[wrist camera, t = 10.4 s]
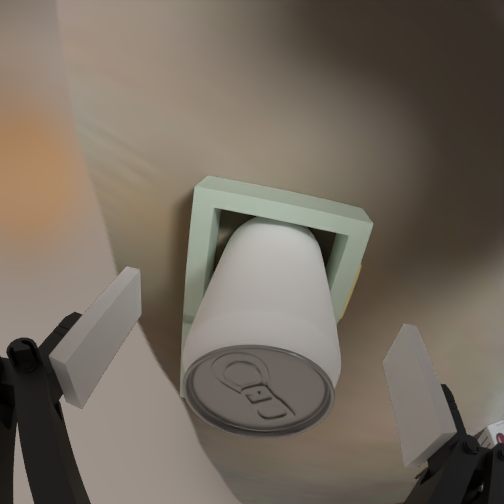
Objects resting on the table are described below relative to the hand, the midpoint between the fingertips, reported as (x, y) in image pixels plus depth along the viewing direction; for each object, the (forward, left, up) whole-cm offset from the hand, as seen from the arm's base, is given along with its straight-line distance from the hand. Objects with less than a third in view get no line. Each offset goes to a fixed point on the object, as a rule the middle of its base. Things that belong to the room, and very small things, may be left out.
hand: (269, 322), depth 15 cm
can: (0, 0, -8) cm, 8 cm away
